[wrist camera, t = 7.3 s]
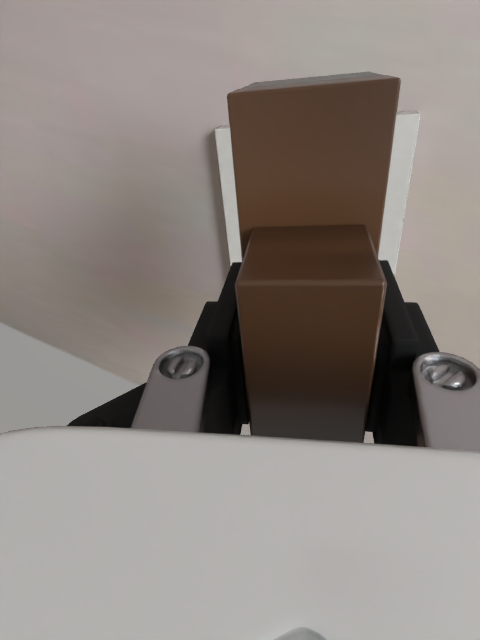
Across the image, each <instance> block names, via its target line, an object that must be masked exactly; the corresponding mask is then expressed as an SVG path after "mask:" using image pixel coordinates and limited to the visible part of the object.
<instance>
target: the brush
mask: <svg viewBox="0 0 480 640" xmlns="http://www.w3.org/2000/svg"><path fill="white" fill-rule="evenodd" d="M400 83H401V80H400V78H398V77H393V76H388V75H381V74H376V73H372V72H361V73H350V74H340V75H329V76H319V77H308V78H298V79H287V80H277V81H266V82H256V83H252V84H250V85H248V86H246V87H243V88H241V89H238V90H235V91H233V92H231V93H229V94H228V95H227V101H228V112H229V123H230V134H231V145H232V156H233V168H234V179H235V190H236V201H237V212H238V223H239V234H240V245H241V256H242V264H241V267H240V270H239V273H238V276H237V279H236V282H235V290H236V300H237V309H238V319H239V328H240V338H241V347H242V356H243V366H244V375H245V385H246V394H247V404H248V413H249V423H250V432H251V436H266V437H281V438H297V439H312V440H327V441H342V442H357V443H363V442H364V435H365V429H366V422H367V415H368V408H369V402H370V395H371V388H372V382H373V375H374V368H375V361H376V355H377V348H378V341H379V334H380V328H381V321H382V314H383V308H384V301H385V294H386V287H387V282H386V279H385V276H384V273H383V270H382V268H381V265H380V262H379V259H378V254H379V247H380V239H381V231H382V223H383V215H384V208H385V200H386V192H387V184H388V176H389V169H390V161H391V153H392V145H393V137H394V130H395V122H396V114H397V106H398V98H399V91H400Z"/></svg>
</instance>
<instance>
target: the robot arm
mask: <svg viewBox="0 0 480 640" xmlns="http://www.w3.org/2000/svg"><path fill="white" fill-rule="evenodd" d="M379 262H380V265H381V268H382V270H383V273H384V276H385V279H386V282H387V287H386V294H385V301H384V308H383V314H382V321H381V328H380V334H379V341H378V348H377V355H376V361H375V368H374V375H373V382H372V388H371V395H370V402H369V408H368V415H367V422H366V429H365V431H368V432H373V438H374V444H372V443H357V442H342V441H327V440H312V439H297V438H281V437H266V436H250V435H240V433H241V428H242V424H249V413H248V404H247V394H246V385H245V375H244V366H243V356H242V347H241V338H240V328H239V319H238V309H237V300H236V290H235V282H236V279H237V276H238V273H239V270H240V267H241V264H242V262H233V263H232V265H231V268H230V270H229V273H228V276H227V278H226V281H225V284H224V286H223V289H222V292H221V295H220V297H219V300H218V302H206V304H205V306H204V308H203V311H202V313H201V315H200V318H199V320H198V323H197V325H196V327H195V330H194V332H193V335H192V337H191V339H190V342H189V344H188V346H181V347H176V348H173V349H170V350H168V351H166V352H164V353H163V354H161V355H160V356H159V357H158V358H157V359H156V361H155V362H154V364H153V367H152V369H151V372H150V375H149V378H148V381H147V382H146V383H144V384H142V385H140V386H138V387H136V388H135V389H132V390H131V391H129V392H127V393H125V394H123V395H121V396H119V397H117V398H115V399H113V400H111V401H109V402H107V403H105V404H103V405H101V406H99V407H97V408H95V409H93V410H91V411H89V412H87V413H85V414H83V415H81V416H80V417H78V418H76V419H75V420H73V421H72V422H71V423H69V425H67V426H49V427H34V428H27V429H20V430H13V431H9V432H5V433H1V434H0V640H480V369H479V368H478V367H477V366H476V365H474V364H473V363H472V362H470V361H468V360H466V359H465V358H463V357H460V356H457V355H454V354H449V353H443V352H439V350H438V347H437V345H436V343H435V341H434V338H433V336H432V334H431V332H430V329H429V327H428V325H427V323H426V320H425V318H424V316H423V314H422V311H421V309H420V307H419V305H418V304H417V303H413V302H404V300H403V298H402V295H401V293H400V290H399V287H398V285H397V282H396V280H395V277H394V275H393V272H392V270H391V267H390V264H389V262H388V260H379Z"/></svg>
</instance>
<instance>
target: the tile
mask: <svg viewBox="0 0 480 640" xmlns="http://www.w3.org/2000/svg"><path fill="white" fill-rule="evenodd" d="M420 115H421V114H420V113H418V112H417V111H408V112H397V114H396V122H395V130H394V137H393V145H392V153H391V161H390V169H389V176H388V184H387V192H386V200H385V208H384V215H383V223H382V231H381V239H380V247H379V254H378V259H379V260H388V262H389V264H390V267H391V270H392V272H393V275H394V277H395V271H396V265H397V258H398V252H399V246H400V240H401V233H402V227H403V221H404V215H405V209H406V202H407V196H408V190H409V184H410V177H411V171H412V165H413V159H414V152H415V146H416V140H417V134H418V128H419V121H420ZM215 138H216V146H217V155H218V163H219V172H220V181H221V189H222V198H223V206H224V215H225V224H226V232H227V241H228V249H229V258H230V267H231V265H232V263H233V262H242V256H241V245H240V234H239V223H238V212H237V201H236V190H235V179H234V168H233V156H232V145H231V134H230V125H229V126H219V127H217V128H216V129H215Z"/></svg>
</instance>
